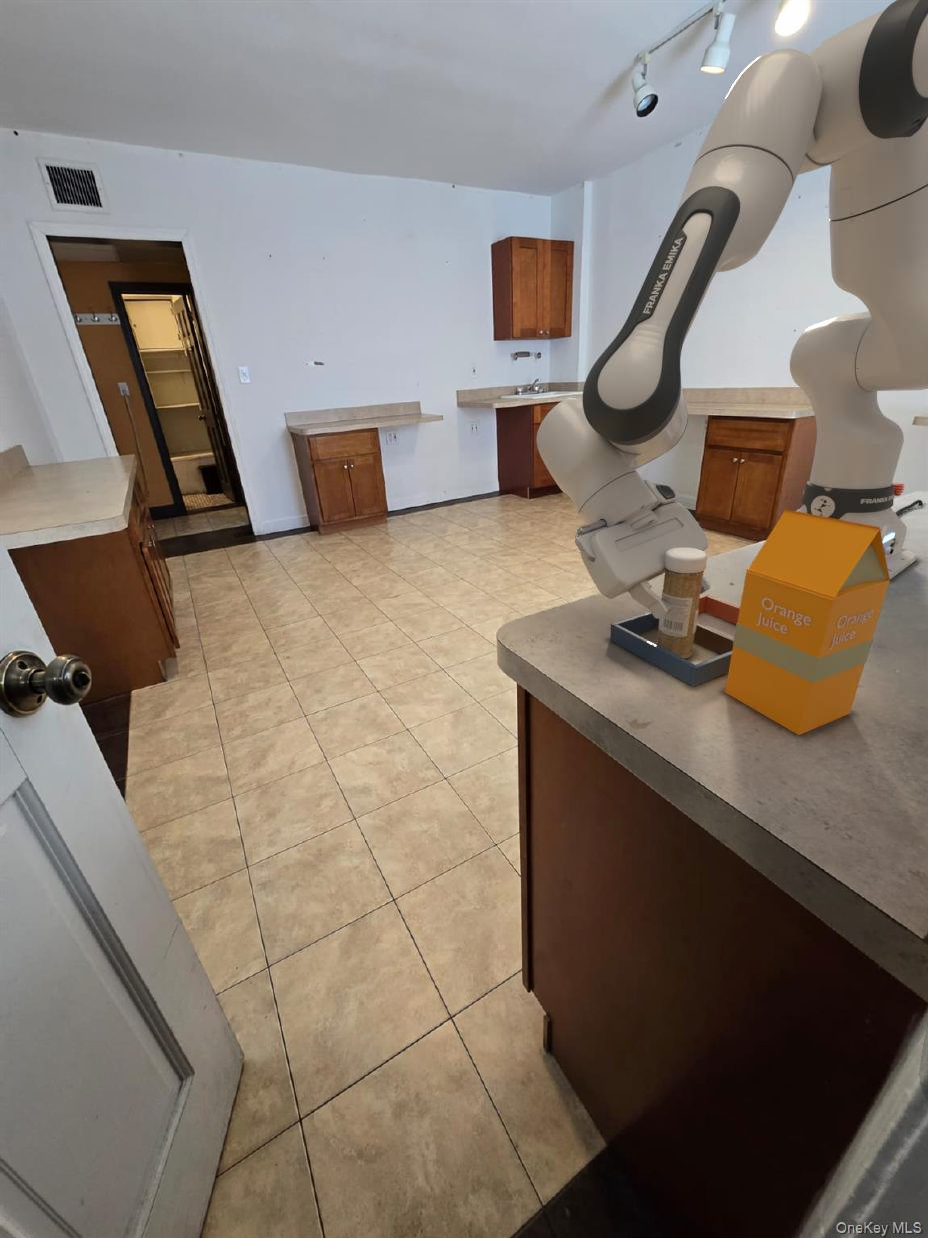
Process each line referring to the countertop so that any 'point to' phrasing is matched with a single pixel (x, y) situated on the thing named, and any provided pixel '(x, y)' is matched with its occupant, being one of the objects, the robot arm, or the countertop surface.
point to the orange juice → (808, 619)
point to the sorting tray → (715, 641)
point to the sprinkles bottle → (681, 599)
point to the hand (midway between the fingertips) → (685, 603)
